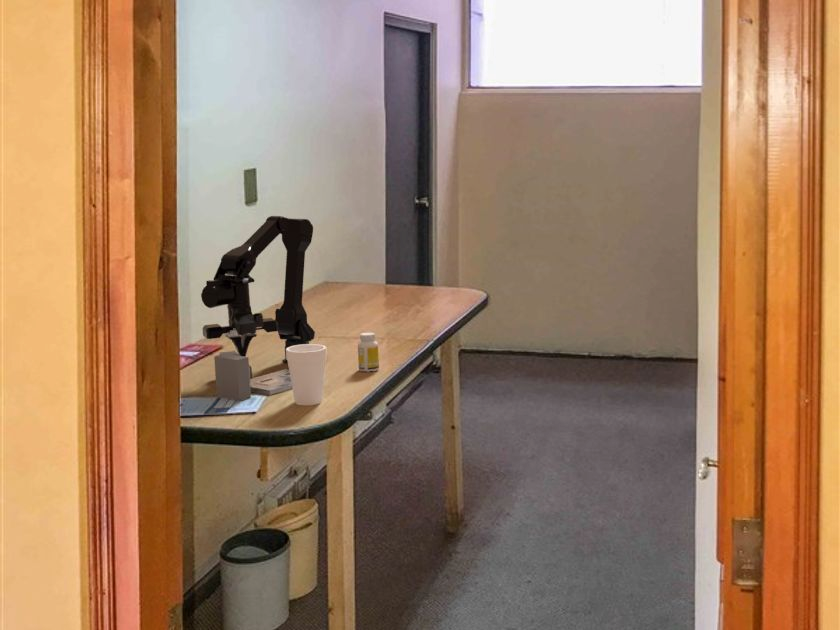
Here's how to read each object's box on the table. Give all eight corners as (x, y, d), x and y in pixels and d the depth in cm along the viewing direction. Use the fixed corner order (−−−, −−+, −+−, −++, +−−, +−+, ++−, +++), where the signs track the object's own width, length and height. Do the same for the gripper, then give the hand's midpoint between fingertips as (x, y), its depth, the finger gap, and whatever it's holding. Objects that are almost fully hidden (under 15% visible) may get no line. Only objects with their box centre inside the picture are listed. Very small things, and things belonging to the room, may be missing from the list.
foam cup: (284, 400, 249) (281, 346, 247) (320, 395, 253) (318, 342, 250) (295, 409, 241) (293, 354, 238) (333, 404, 244) (331, 349, 242)
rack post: (227, 393, 257) (225, 353, 255) (250, 397, 252) (248, 357, 250) (216, 396, 254) (214, 356, 252) (239, 400, 249) (237, 360, 248)
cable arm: (220, 375, 275) (218, 351, 273) (236, 374, 276) (234, 349, 275) (237, 395, 254) (235, 368, 253) (254, 393, 255) (253, 367, 254)
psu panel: (285, 373, 276) (284, 368, 276) (321, 379, 268) (321, 373, 268) (233, 388, 262) (233, 382, 261) (270, 395, 254) (270, 389, 254)
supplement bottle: (381, 368, 280) (380, 332, 278) (375, 372, 275) (374, 336, 273) (362, 367, 281) (361, 331, 279) (355, 371, 276) (354, 335, 274)
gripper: (209, 309, 258) (213, 371, 261) (282, 302, 266) (286, 362, 268) (200, 303, 269) (204, 362, 271) (270, 296, 276) (274, 354, 278)
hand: (242, 360), depth 272 cm, fingers closed
